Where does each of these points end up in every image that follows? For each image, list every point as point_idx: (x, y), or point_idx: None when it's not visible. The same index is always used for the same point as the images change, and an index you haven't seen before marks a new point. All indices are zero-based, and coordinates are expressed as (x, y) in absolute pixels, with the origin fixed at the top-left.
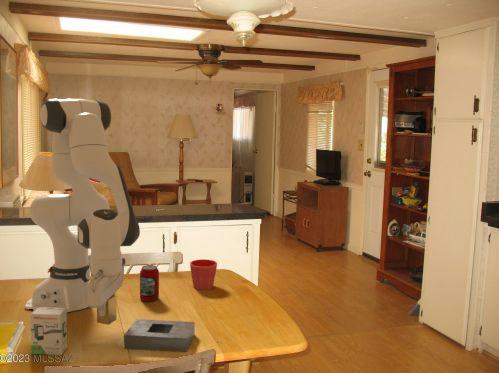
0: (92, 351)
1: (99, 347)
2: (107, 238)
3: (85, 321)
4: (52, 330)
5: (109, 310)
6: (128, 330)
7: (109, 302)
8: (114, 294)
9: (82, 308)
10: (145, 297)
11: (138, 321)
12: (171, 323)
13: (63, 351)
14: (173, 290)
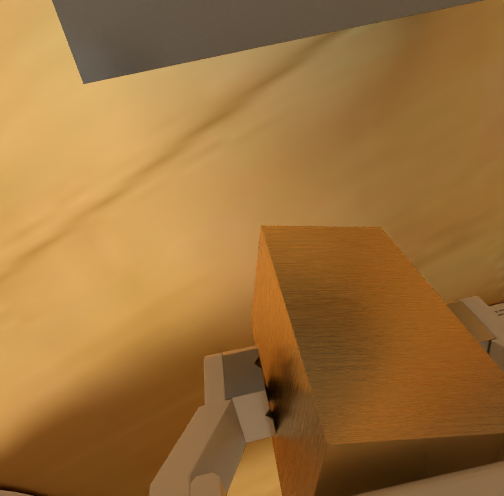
0: (484, 186)
1: (429, 178)
2: None
3: (128, 411)
4: None
5: (431, 307)
6: (395, 7)
7: (493, 389)
8: (195, 487)
9: (9, 494)
10: None
11: (134, 23)
12: None
13: (499, 306)
14: None
